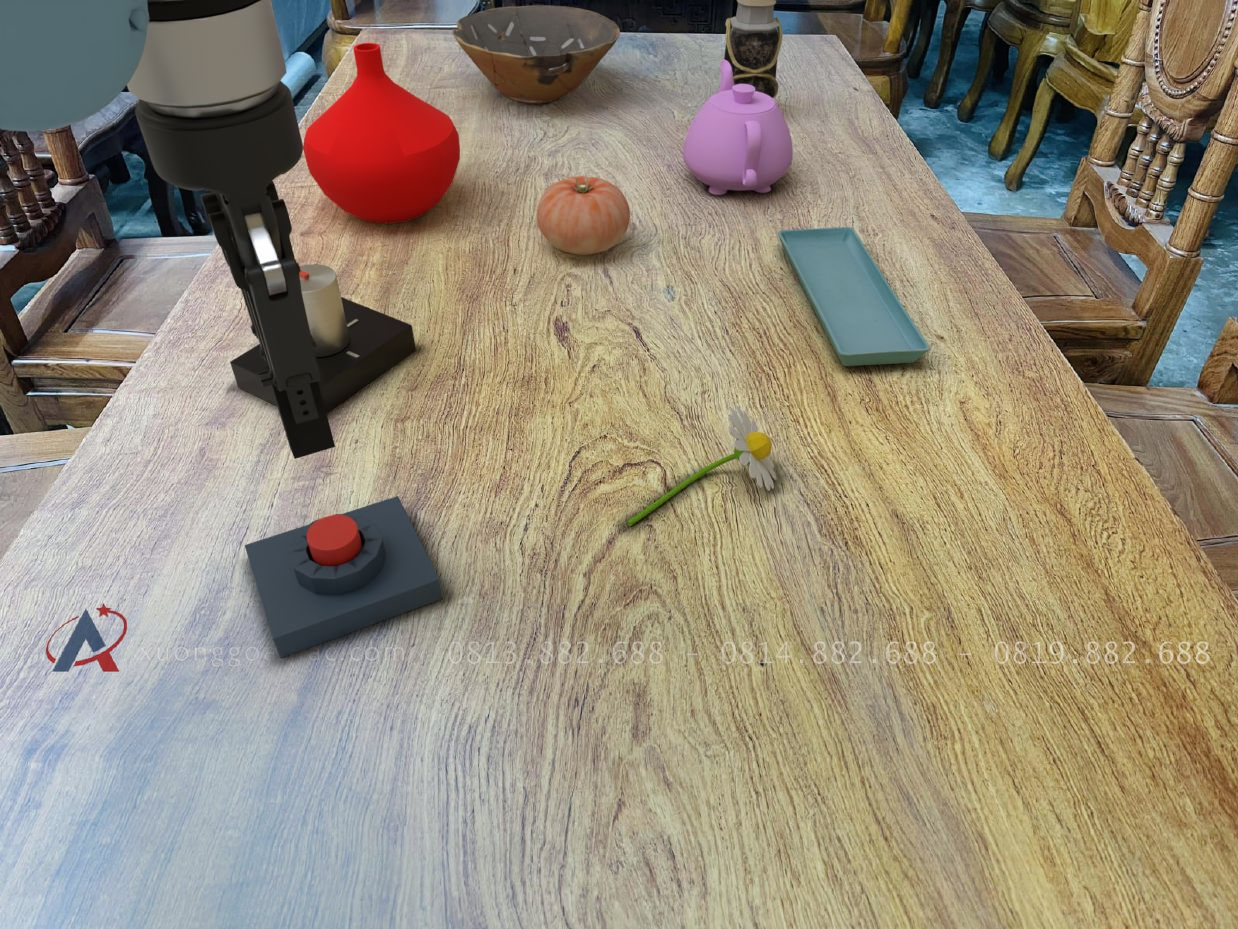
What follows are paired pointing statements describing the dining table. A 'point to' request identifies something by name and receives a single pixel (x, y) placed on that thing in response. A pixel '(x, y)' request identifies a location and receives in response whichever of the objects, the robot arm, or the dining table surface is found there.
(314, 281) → the knob
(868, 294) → the rectangular tray
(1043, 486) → the dining table surface
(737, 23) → the lantern
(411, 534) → the button box
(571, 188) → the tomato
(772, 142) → the teapot
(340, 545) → the button
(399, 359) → the panel
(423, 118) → the vase
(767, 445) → the decorative flower
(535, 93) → the bowl
